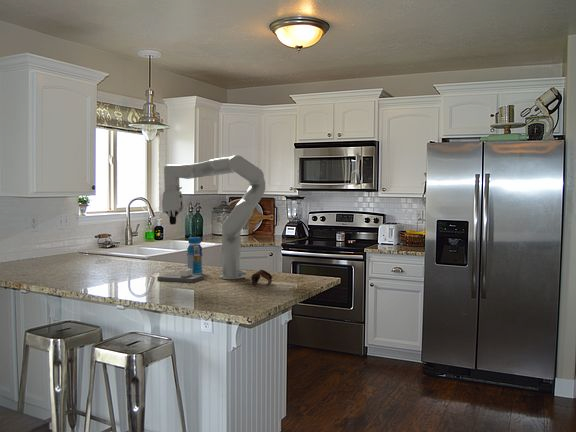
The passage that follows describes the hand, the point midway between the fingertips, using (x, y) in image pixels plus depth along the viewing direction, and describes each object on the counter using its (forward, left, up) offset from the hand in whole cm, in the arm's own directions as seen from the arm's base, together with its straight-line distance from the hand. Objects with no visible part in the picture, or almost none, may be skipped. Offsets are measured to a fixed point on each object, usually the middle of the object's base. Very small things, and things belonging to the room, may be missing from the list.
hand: (173, 224), depth 268 cm
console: (-5, +2, -28) cm, 29 cm away
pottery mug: (-49, +2, -29) cm, 56 cm away
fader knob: (-8, +2, -26) cm, 27 cm away
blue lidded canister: (-3, -17, -29) cm, 33 cm away
